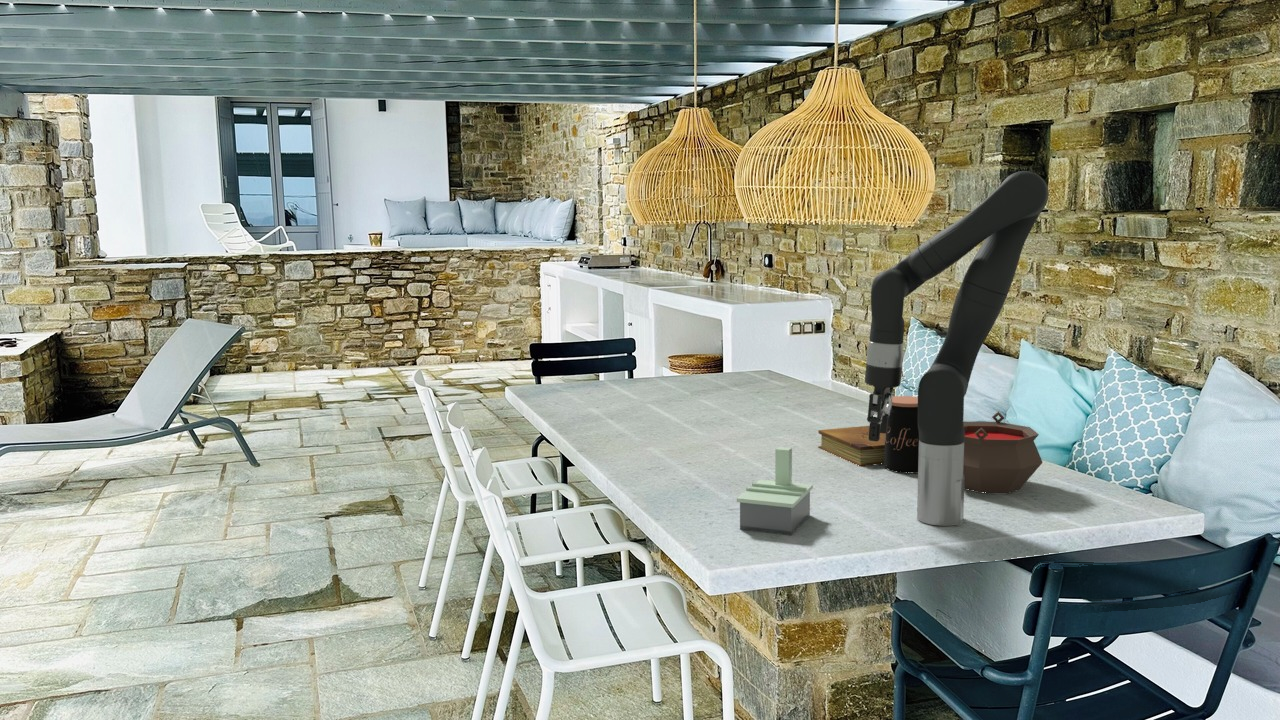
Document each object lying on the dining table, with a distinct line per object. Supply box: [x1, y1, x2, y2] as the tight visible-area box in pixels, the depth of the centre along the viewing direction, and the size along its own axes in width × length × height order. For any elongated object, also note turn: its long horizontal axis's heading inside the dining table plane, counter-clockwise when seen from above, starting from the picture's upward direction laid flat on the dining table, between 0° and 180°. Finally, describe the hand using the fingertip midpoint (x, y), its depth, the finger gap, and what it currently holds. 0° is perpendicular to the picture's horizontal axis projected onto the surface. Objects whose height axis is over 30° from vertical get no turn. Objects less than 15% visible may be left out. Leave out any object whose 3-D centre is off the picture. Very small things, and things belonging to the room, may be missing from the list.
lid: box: [736, 446, 814, 508], centre depth 214 cm, size 12×16×9 cm
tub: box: [739, 491, 811, 536], centre depth 215 cm, size 11×15×6 cm
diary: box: [817, 425, 885, 467], centre depth 275 cm, size 23×19×6 cm
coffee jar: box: [883, 395, 919, 474], centre depth 258 cm, size 11×11×18 cm
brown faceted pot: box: [963, 411, 1043, 494], centre depth 241 cm, size 24×24×16 cm
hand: (877, 436), depth 218 cm, fingers open, 8 cm apart
